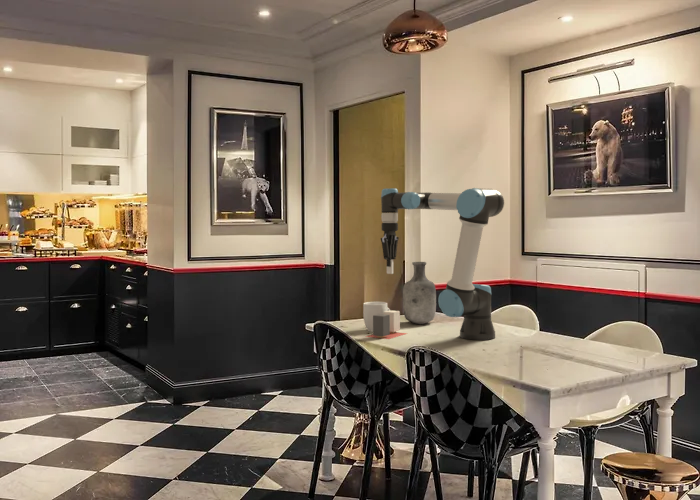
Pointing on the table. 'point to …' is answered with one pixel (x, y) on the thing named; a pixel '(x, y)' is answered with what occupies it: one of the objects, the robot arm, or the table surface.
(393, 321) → the stand
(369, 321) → the mug
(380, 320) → the dark gray block
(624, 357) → the table surface
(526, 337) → the table surface
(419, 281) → the vase
